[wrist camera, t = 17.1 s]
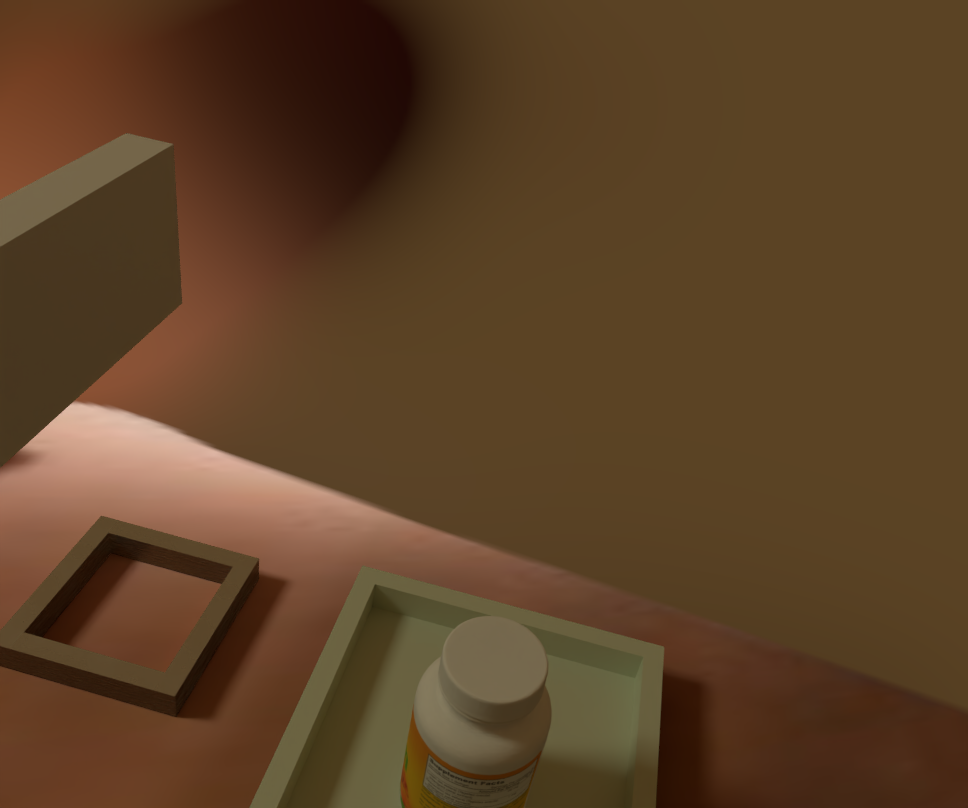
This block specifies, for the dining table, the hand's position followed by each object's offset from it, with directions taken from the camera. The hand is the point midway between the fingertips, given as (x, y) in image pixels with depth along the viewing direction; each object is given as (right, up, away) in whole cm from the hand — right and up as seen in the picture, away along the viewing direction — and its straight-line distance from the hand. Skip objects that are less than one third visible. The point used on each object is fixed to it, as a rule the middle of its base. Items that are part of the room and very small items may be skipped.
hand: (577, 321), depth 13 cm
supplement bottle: (-2, -19, +25) cm, 31 cm away
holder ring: (-19, -12, +31) cm, 38 cm away
